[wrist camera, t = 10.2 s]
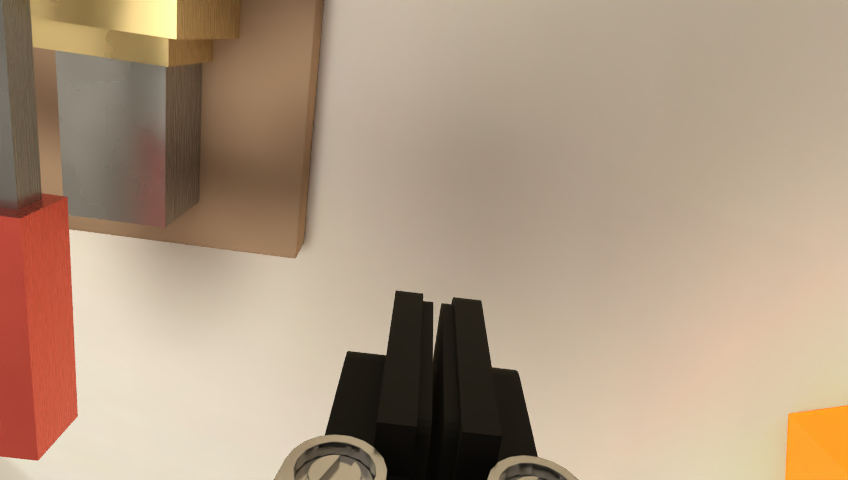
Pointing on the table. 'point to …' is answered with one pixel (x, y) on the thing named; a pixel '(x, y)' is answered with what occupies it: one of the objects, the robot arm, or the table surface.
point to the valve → (131, 100)
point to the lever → (30, 264)
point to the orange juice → (818, 445)
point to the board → (230, 135)
